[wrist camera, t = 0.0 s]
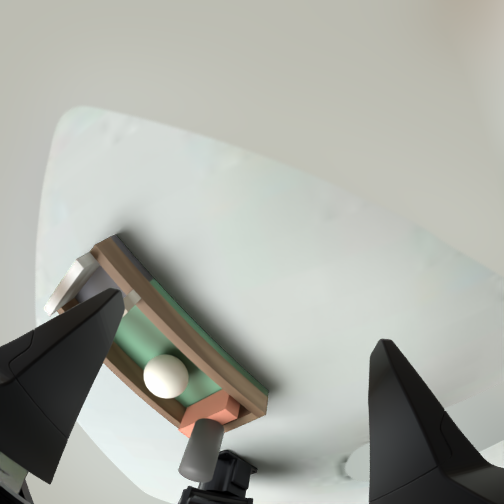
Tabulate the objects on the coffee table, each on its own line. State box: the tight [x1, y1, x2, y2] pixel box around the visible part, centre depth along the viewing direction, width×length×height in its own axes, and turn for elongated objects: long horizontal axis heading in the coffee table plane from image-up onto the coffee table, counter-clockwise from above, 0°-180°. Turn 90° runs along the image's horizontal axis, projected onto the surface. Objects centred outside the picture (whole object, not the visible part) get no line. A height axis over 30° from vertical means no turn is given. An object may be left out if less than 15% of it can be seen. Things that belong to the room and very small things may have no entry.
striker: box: [178, 389, 240, 483], centre depth 25 cm, size 7×3×10 cm, turn 131°
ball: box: [144, 354, 189, 398], centre depth 26 cm, size 4×4×4 cm
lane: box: [43, 234, 269, 433], centre depth 26 cm, size 10×22×6 cm, turn 41°
